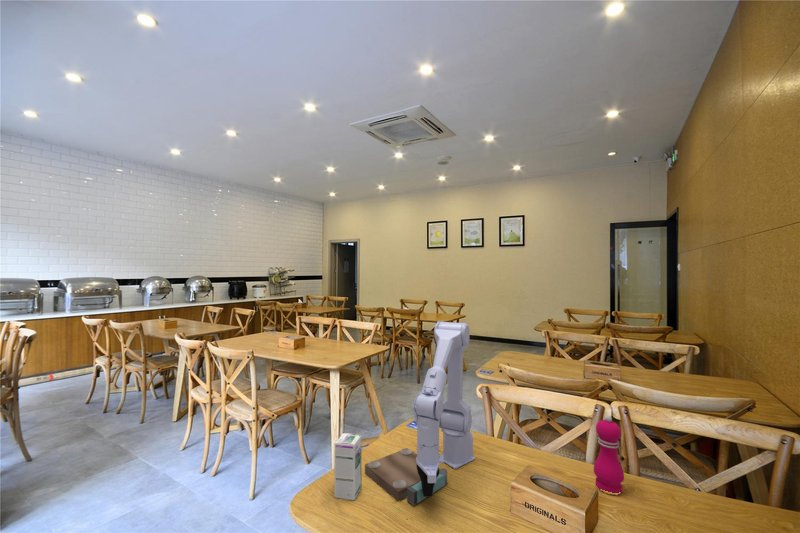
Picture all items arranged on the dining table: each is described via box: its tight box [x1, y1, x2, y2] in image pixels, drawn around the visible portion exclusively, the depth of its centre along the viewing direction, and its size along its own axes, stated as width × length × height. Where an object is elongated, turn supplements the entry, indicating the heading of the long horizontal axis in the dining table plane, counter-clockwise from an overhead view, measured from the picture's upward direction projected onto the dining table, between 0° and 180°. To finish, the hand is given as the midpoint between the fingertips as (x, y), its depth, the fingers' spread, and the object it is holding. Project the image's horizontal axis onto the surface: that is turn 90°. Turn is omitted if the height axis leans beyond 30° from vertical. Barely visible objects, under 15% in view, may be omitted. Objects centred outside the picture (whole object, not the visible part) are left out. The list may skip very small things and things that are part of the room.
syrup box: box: [333, 432, 363, 501], centre depth 92 cm, size 6×6×14 cm
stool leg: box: [406, 468, 448, 506], centre depth 93 cm, size 14×3×3 cm, turn 133°
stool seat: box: [364, 447, 421, 502], centre depth 100 cm, size 16×16×3 cm
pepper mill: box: [593, 414, 625, 493], centre depth 95 cm, size 7×7×20 cm
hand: (427, 495), depth 88 cm, fingers closed
